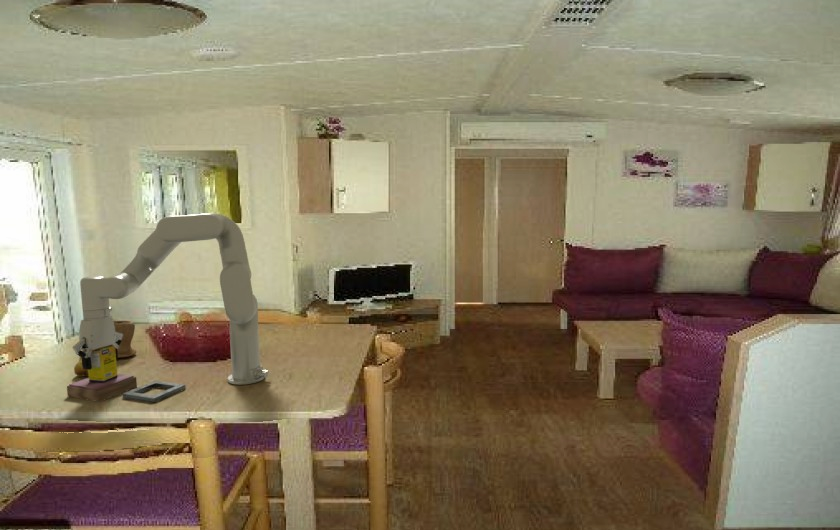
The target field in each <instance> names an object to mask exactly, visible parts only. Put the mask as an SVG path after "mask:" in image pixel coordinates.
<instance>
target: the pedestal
mask: <svg viewBox="0 0 840 530" xmlns="http://www.w3.org/2000/svg"><path fill="white" fill-rule="evenodd" d="M117 375H118V377H117V378H115V379H112V380H110V381H107V382H105V383H99V382H89V377H87V378H83V379H81V380H78V381H75V382H72V383H70V384H69V385H67V386H66V391H67V397H68V396H69V397H68V398H73V397H74V399H79V398H81V400H86V399H88V400H89V401H92V400H95V401H94V402H99V401H100V402H102V400H103V401H105V400H107V398H108V399H110V398H113V397H115V396H117V394H118V395H119V394H123V393H126V392H128V391H131V390H133V389H136V388H138V387H137V386H138V383H137V377H136V376H134V375H132V374H131V375H130V374H122V373H117ZM132 388H133V389H132ZM127 390H128V391H127ZM122 392H123V393H122ZM114 395H115V396H114ZM112 396H113V397H112ZM109 397H110V398H109ZM104 399H105V400H104Z"/></svg>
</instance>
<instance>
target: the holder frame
mask: <svg viewBox="0 0 840 530" xmlns="http://www.w3.org/2000/svg"><path fill="white" fill-rule="evenodd" d="M154 387H155V388H156V387H159V388H158V389H163V388H165V389H164V390H163V391H161V392H159V393H157V394H156V393H155V395H154V394H147V393H146V392H148V391H150V390H152V388H153V389H154ZM149 389H150V390H149ZM147 390H148V391H147ZM181 390H182V391H184V390H186V384H184V383H183V384H182V383H176V382H175V383H174V382H168V381H161V380H153V381H150V382H149V383H145V384H143V385H141V386H138V387H135V388H133V389H130V390H128V391H125V392H123V393H122V399H125V400H131V399H132V401H139V402H144V403H145V402H146V403H150V404H151V403H152V404H155V403H158V402H159V401H162V400H164V399H166V397H167V398H168V397H171V396H173V395H175V394H178V393H180V392H182V391H181ZM179 391H180V392H179ZM177 392H178V393H177Z"/></svg>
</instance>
